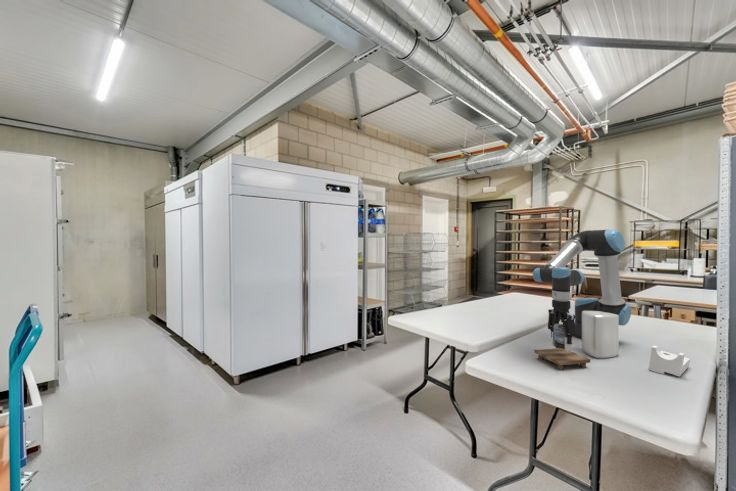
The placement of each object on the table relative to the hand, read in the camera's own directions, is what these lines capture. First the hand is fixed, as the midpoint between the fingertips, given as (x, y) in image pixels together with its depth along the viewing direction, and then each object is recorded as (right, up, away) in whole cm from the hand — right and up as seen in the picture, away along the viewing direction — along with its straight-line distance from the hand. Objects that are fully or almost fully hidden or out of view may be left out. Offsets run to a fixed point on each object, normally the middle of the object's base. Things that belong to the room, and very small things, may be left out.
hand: (561, 347), depth 150 cm
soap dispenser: (+25, -7, +10) cm, 27 cm away
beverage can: (0, -1, 0) cm, 1 cm away
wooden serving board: (0, -7, 0) cm, 7 cm away
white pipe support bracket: (+43, -7, -8) cm, 45 cm away
